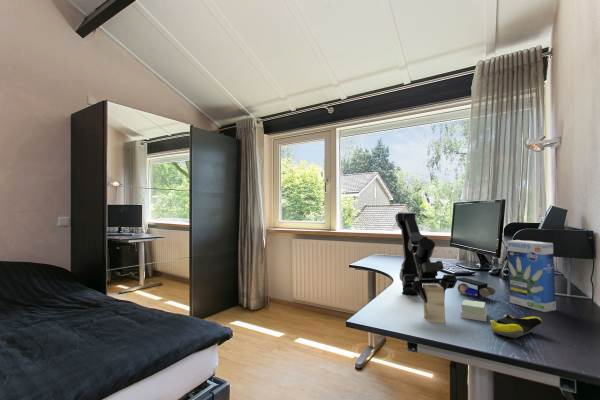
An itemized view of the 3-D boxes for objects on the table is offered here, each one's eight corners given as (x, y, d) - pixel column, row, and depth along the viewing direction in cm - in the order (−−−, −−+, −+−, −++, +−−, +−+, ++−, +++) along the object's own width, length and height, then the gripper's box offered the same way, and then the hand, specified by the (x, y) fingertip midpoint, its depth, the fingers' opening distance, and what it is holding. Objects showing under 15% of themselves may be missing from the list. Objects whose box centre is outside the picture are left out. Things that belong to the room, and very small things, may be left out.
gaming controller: (546, 335, 91) (510, 324, 99) (545, 317, 91) (509, 308, 100) (520, 346, 84) (484, 334, 92) (519, 327, 84) (483, 316, 93)
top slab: (461, 311, 108) (461, 304, 108) (464, 306, 113) (464, 299, 113) (484, 314, 103) (483, 307, 103) (485, 309, 109) (485, 302, 109)
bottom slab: (460, 318, 107) (460, 311, 107) (462, 312, 114) (462, 305, 114) (486, 322, 102) (486, 315, 103) (486, 315, 109) (486, 309, 109)
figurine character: (496, 303, 126) (463, 291, 140) (497, 285, 125) (464, 275, 139) (486, 305, 123) (453, 293, 137) (487, 288, 123) (454, 277, 136)
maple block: (424, 316, 108) (422, 284, 109) (439, 317, 108) (438, 284, 108) (429, 322, 103) (427, 288, 103) (445, 322, 102) (443, 288, 103)
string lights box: (509, 302, 122) (505, 240, 123) (521, 300, 124) (517, 239, 125) (545, 312, 109) (541, 243, 110) (557, 309, 112) (553, 242, 113)
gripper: (402, 253, 111) (411, 290, 100) (453, 252, 109) (469, 290, 98) (398, 270, 119) (406, 306, 107) (446, 269, 117) (460, 306, 105)
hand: (434, 302), depth 104 cm, fingers closed on maple block, 5 cm apart
